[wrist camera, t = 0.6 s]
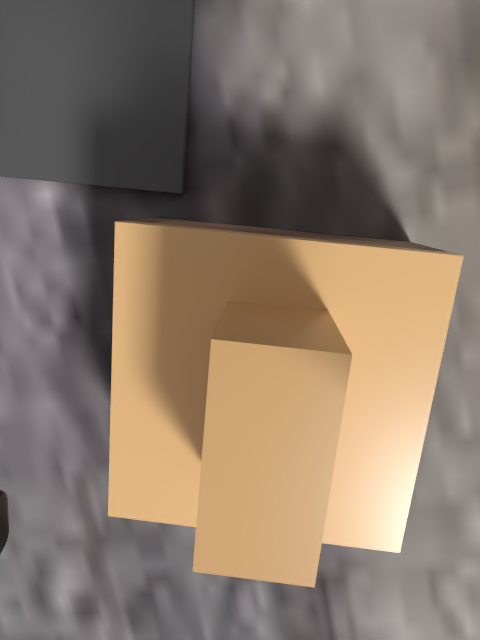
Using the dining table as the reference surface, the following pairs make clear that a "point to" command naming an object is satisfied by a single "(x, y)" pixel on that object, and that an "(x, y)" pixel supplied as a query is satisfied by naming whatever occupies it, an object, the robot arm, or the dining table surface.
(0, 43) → the rubber mat
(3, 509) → the robot arm
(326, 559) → the dining table surface
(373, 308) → the lid
